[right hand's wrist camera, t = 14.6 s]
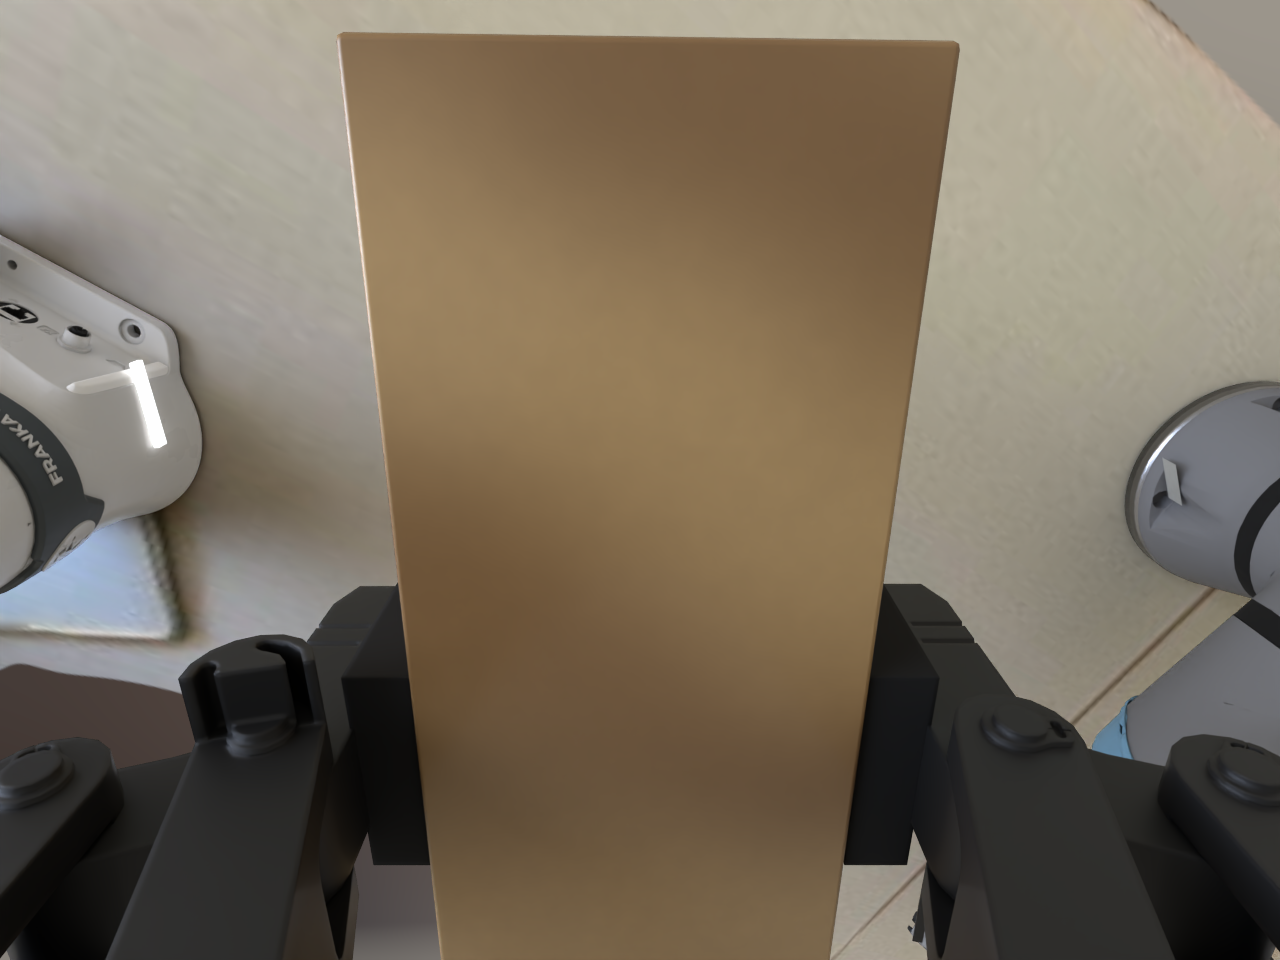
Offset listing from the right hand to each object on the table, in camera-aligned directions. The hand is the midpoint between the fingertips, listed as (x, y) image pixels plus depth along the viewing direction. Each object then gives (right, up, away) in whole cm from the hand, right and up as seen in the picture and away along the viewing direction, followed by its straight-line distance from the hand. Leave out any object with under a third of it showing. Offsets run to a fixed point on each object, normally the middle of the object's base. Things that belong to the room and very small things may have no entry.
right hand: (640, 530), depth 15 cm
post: (0, -18, +8) cm, 20 cm away
